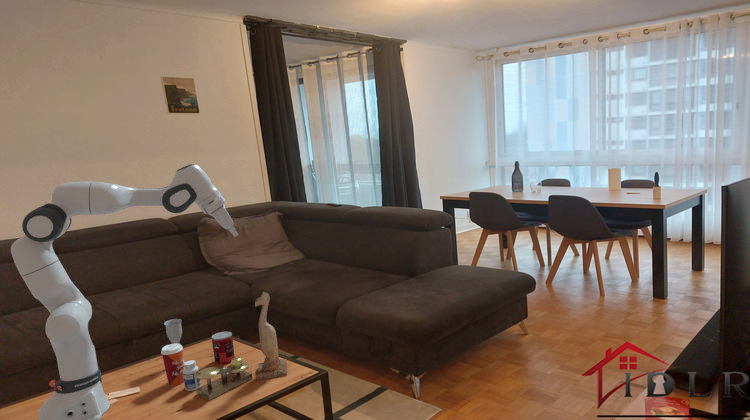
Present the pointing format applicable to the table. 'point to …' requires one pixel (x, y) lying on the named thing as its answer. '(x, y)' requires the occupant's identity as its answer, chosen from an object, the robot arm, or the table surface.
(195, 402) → the table surface
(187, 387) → the pill bottle
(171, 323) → the chalice
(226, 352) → the canned food
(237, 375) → the balance
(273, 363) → the bird sculpture
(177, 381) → the paper cup
